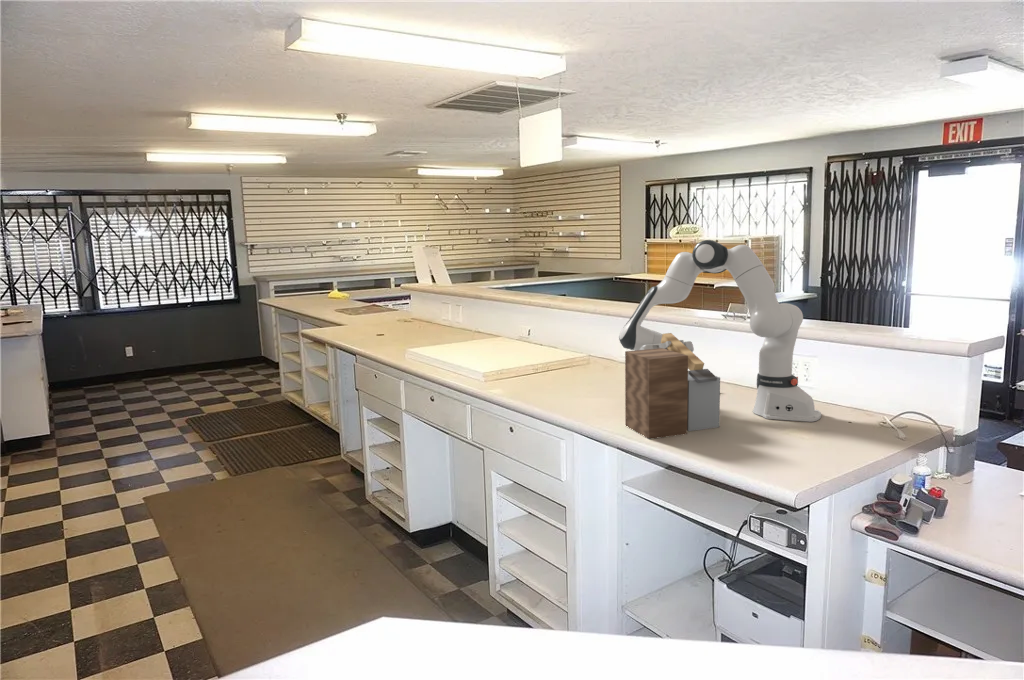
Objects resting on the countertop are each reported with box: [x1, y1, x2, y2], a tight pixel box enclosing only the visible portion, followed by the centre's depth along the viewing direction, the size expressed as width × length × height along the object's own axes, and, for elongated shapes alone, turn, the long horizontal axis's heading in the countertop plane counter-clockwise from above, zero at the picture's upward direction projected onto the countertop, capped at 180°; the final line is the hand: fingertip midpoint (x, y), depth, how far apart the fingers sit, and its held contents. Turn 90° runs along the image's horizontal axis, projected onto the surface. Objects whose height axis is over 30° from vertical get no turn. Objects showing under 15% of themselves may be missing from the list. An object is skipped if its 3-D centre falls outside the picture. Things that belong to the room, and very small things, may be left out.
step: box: [687, 370, 721, 432], centre depth 226 cm, size 14×12×17 cm
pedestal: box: [624, 348, 689, 439], centre depth 219 cm, size 16×14×26 cm
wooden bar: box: [661, 332, 718, 383], centre depth 227 cm, size 28×7×4 cm, turn 18°
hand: (676, 342), depth 233 cm, fingers closed on wooden bar, 3 cm apart
